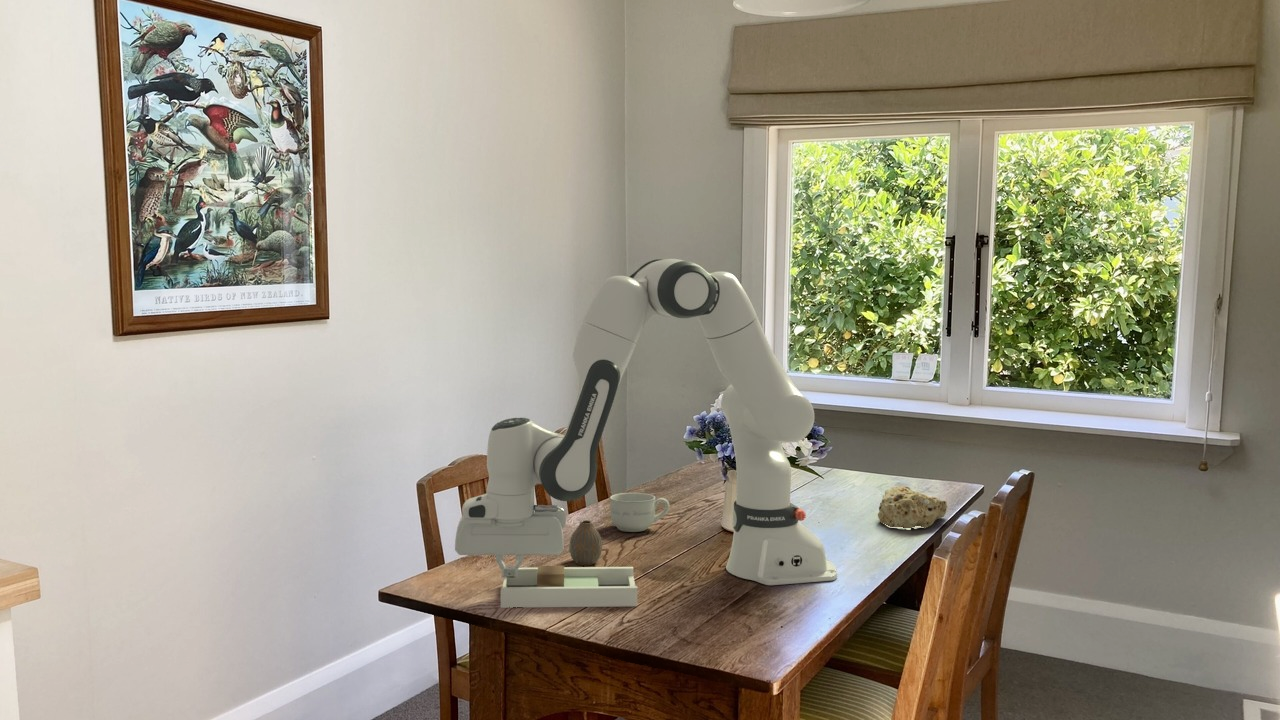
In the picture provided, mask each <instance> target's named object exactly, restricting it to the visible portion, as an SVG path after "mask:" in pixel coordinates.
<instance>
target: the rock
mask: <svg viewBox="0 0 1280 720" xmlns="http://www.w3.org/2000/svg"><path fill="white" fill-rule="evenodd" d="M947 503H948V502H947V500H941V499H940V498H937V497H934V496H928V495H926V494H923V493H920V492H919V491H914V490H911V488H910V487H909V486H901V485H898V486H893V487H892V488H891V489H885V493H884V495H882V499H881V502H880V503H879V507H878V513H877V518H878V520H879V523H880V522H881V523H884V524H886V525H888V526H890V527H903V528H912V527H915V526H921V527H927V526H928V527H930V526H932V525H933V524H934V522H936V520H939V519H942V518H941V517H943V518H944V517H945V515H946V512H947V509H948V504H947ZM881 523H880V524H881ZM928 527H927V528H928Z"/></svg>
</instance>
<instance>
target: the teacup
mask: <svg viewBox="0 0 1280 720" xmlns="http://www.w3.org/2000/svg"><path fill="white" fill-rule="evenodd" d="M609 500H610V501H609V502H610V504H609V505H610V506H609V507H610V512H609V513H610V520H611V524H613V526H614V527H617V529H618V530H619V531H621V532H629V533H630V532H631V533H638V532H643V531H646V530H647V529H648V528H649V527H651V526H652V525H653V523H656V522H657V521H658V520H659V519H661V518H662V517H664V516H666V514H668V512H669V510H670V507H671V506H670V503H669V500H668V499H666V498H664V497H659V498H656V496H655V495H653V494H650V493H642V492H623V493H615V494H613V495H611V496H609ZM661 503H663V504H664V506H665V507H664V509H663V511H662V512H660V513H658V514H656V509H657V508H658V505H659V504H661Z"/></svg>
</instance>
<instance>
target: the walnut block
mask: <svg viewBox="0 0 1280 720" xmlns="http://www.w3.org/2000/svg"><path fill="white" fill-rule="evenodd" d="M564 567H565V565H537V568H538V571H537V587H564Z"/></svg>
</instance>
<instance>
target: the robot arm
mask: <svg viewBox="0 0 1280 720" xmlns="http://www.w3.org/2000/svg"><path fill="white" fill-rule="evenodd" d="M655 315H659V316H663V317H667V318H677V319H690V318H696V320H697V321H698V323H699V324H700V327H701V330H702V333H703V334H704V338H705V340H706V342H707V345H708V347H709V349H710V351H711V353H712V357H713V359H714V361H715V363H716V366H717V368H718V370H719V371H720V373H721V374H722V376H723V377H725V379H726V380H727V382H729V385H728V386H727V387H726V389H725V390H724V392H723V394H722V397H721V401H720V407H721V411H722V414H723V415H724V416H723V417H725V419H726V421H727V424H728V427H729V432H730V436H731V440H732V446H733V451H734V457H735V462H736V463H735V465H736V466H735V467H736V481H735V482H736V483H735V485H736V488H735V489H736V491H735V501H734V502H733V508H732V528H733V536H732V543H731V547H730V553H729V557H728V560H727V563H726V566H725V568H726V571H727V572H728V573H729V574H731V575H733V576H736V577H737V578H740V579H745V580H751V581H754V582H757V583H760V584H763V585H765V586H779V585H790V584H792V585H793V584H804V583H816V582H829V581H835V580H837V577H838V571H837V568H836V566H835V564H834V563H833V562H832V561H830V560H829V559H827V554H826V550H825V547H824V544H823V542H822V540H821V539H820V538H819V536H817V535H816V534H815V533H813V532H812V531H811V530H810V529H808V528H807V527H806V526H804V524H802V523H801V522H802V521H804V520H805V519H806V517H807V514H806V512H805V511H804V510H803V509H801V508H799V507H798V506H797V505H795V504H793V502H791V494H792V493H791V489H792V488H791V487H792V467H791V463H790V461H789V459H788V458H787V455H786V453H785V451H784V447H783V443H785V444H787V443H789V444H790V443H796V442H797V443H798V442H800V441H802V440H803V439H805V438H806V437H807V436H808V435H809V434H810V432H811V430H812V428H813V426H814V423H815V410H814V407H813V405H812V403H811V401H810V400H809V399H808V398H807V397H806V396H804V394H803V393H801V391H800V390H799V389H798V388H797V386H796V385H795V384H794V382H793V380H792V379H791V378H790V376H789V374H788V373H787V372H786V370H785V369H784V367H783V365H782V364H781V362H780V361H779V360H778V358H777V356H776V355H775V353H774V351H773V350H772V348H771V346H770V344H769V341H768V339H767V336H766V334H765V331H764V330H763V327H762V324H761V322H760V319H759V317H758V315H757V312H756V310H755V307H754V306H753V304H752V302H751V300H750V298H749V296H748V294H747V293H746V291H745V289H744V287H743V286H742V284H741V283H740V281H739V280H738V278H737V277H736V276H735V275H734V273H733V274H732V273H731V272H728V271H714V272H711V273H710V272H708V271H707V270H705V269H704V268H703V267H702V266H701V265H699V264H698V263H695V262H693V261H688V260H684V259H683V260H682V259H679V258H678V259H677V258H665V259H662V258H661V259H658V258H657V259H653V260H650V261H648V262H646V263H643V264H642V265H641V266H640V267H639V268H638V269H636V271H634V272H633V273H632V274H631V275H629V276H626V275H613V276H610V277H608V278H607V279H605V280H604V282H603V283H602V284H601V286H600V287H599V289H598V290H597V292H596V294H595V295H594V296H593V299H592V301H591V303H590V304H589V305H588V309H587V310H586V313H585V315H584V317H583V319H582V322H581V324H580V326H579V329H578V331H577V336H576V339H575V343H574V347H573V354H572V358H573V362H574V366H575V368H576V373H577V377H578V394H577V397H576V401H575V404H574V406H573V410H572V412H571V416H570V418H569V420H568V424H567V428H566V429H565V432H564V434H563V433H562V434H561V433H558V432H554V431H550V430H548V429H547V428H543V427H541V426H539V425H538V424H536V423H535V422H533V421H532V420H531V419H530V418H527V417H512V418H507V419H504V420H500V421H499V422H497V423H495V424H494V425H493V426H492V428H491V430H490V431H489V436H488V441H487V442H488V443H487V449H486V451H487V452H486V469H487V472H488V482H487V485H486V493H483V494H481V495H478V496H477V495H476V496H473V497H470V498H467V499H466V500H465V502H464V503H463V505H462V508H461V511H462V513H461V514H462V515H461V517H460V520H459V521H458V525H457V528H456V533H455V539H454V551H455V552H456V553H457V555H458V556H495V562H496V563H497V565H498V567H499V568H500V570H501V579H502V578H503V579H504V578H517V573H518V568H520V566H521V564H522V563H523V561H524V556H560V555H561V554H562V552H563V551H564V548H565V547H564V546H565V545H564V544H565V541H564V531H563V529H564V527H565V526H566V524H567V514H566V511H565V510H564V509H563V508H562V507H560V506H559V505H554V504H552V505H544V504H535V486H537V485H542V487H543V490H544V492H546V494H548V495H549V496H550V497H552V499H555V500H557V501H560V502H561V501H562V502H572V501H577V500H579V499H581V498H583V497H585V496H586V495H587V494H588V493H589V492H590V491H591V490H592V488H593V487H594V485H595V483H596V479H597V473H598V471H597V470H598V462H597V455H598V448H599V445H600V442H601V440H602V435H603V433H604V430H605V428H606V424H607V421H608V418H609V416H610V413H611V411H612V406H613V404H614V400H615V397H616V394H617V391H618V388H619V386H620V384H621V381H622V378H623V376H624V374H625V372H626V369H627V367H628V365H629V362H630V360H631V358H632V355H633V353H634V351H635V349H636V346H637V343H638V341H639V338H640V336H641V332H642V330H643V328H644V326H645V325H646V323H648V320H650V319H651V318H652V317H653V316H655ZM799 521H801V522H799ZM505 556H515V561H516V562H515V563H514V565H506V564H505V562H504V558H505Z"/></svg>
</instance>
